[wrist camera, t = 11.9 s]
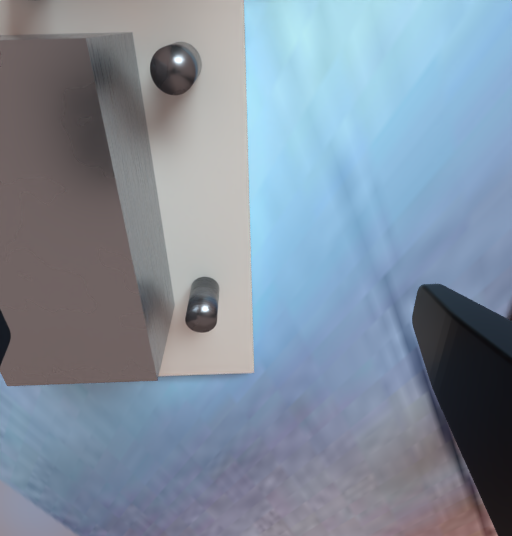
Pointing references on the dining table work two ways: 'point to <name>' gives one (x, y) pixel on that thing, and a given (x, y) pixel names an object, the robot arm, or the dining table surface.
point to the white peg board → (185, 158)
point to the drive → (79, 214)
